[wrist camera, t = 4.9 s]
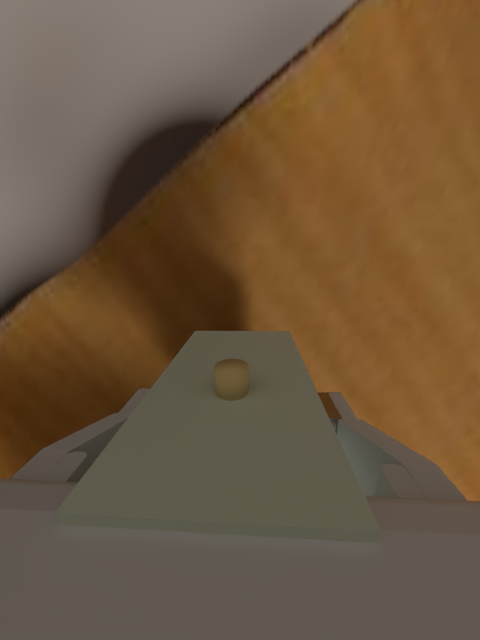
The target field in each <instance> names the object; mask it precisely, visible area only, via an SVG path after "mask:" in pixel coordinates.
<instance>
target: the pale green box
mask: <svg viewBox="0 0 480 640" xmlns="http://www.w3.org/2000/svg"><path fill="white" fill-rule="evenodd" d="M55 516H56V519H57V522H58V524H62V525H79V526H96V527H113V528H130V529H147V530H164V531H181V532H198V533H215V534H232V535H249V536H266V537H283V538H300V539H317V540H334V541H351V542H368V543H379V539H380V535H381V530H380V528H379V526H378V524H377V522H376V520H375V517H374V515H373V513H372V511H371V509H370V506H369V504H368V502H367V500H366V498H365V496H364V493H363V491H362V489H361V487H360V485H359V482H358V480H357V478H356V476H355V474H354V471H353V469H352V467H351V465H350V463H349V461H348V458H347V456H346V454H345V452H344V450H343V447H342V445H341V443H340V441H339V439H338V437H337V434H336V432H335V430H334V428H333V426H332V423H331V421H330V419H329V417H328V415H327V412H326V410H325V408H324V406H323V404H322V402H321V399H320V397H319V395H318V393H317V391H316V388H315V386H314V384H313V382H312V380H311V378H310V375H309V373H308V371H307V369H306V367H305V364H304V362H303V360H302V358H301V356H300V353H299V351H298V349H297V347H296V345H295V343H294V340H293V338H292V336H291V334H290V332H289V331H195V332H194V333H193V334H192V335H191V337H190V338H189V339H188V341H187V342H186V343H185V345H184V346H183V347H182V348H181V350H180V351H179V352H178V354H177V355H176V356H175V358H174V359H173V360H172V361H171V363H170V364H169V365H168V367H167V368H166V369H165V371H164V372H163V373H162V374H161V376H160V377H159V378H158V380H157V381H156V382H155V384H154V385H153V386H152V387H151V389H150V390H149V391H148V393H147V394H146V395H145V397H144V398H143V399H142V400H141V402H140V403H139V404H138V406H137V407H136V408H135V410H134V411H133V412H132V413H131V415H130V416H129V417H128V419H127V420H126V421H125V423H124V424H123V425H122V426H121V428H120V429H119V430H118V432H117V433H116V434H115V436H114V437H113V438H112V439H111V441H110V442H109V443H108V445H107V446H106V447H105V449H104V450H103V451H102V452H101V454H100V455H99V456H98V458H97V459H96V460H95V462H94V463H93V464H92V465H91V467H90V468H89V469H88V471H87V472H86V473H85V475H84V476H83V477H82V478H81V480H80V481H79V482H78V484H77V485H76V486H75V488H74V489H73V490H72V491H71V493H70V494H69V495H68V497H67V498H66V499H65V500H64V502H63V503H62V504H61V506H60V507H59V508H58V510H57V511H56V512H55Z"/></svg>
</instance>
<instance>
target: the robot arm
mask: <svg viewBox="0 0 480 640" xmlns="http://www.w3.org/2000/svg"><path fill="white" fill-rule="evenodd" d="M150 389H151V388H141V389H138V391H137V392H136V393H135V394H134V395H133V396H132V398H131V399H130V400H129V401H128V402H127V403H126V404H125V406H124V407H123V408H122V409H121V410H120V411H119V413H113V414H111V415H109V416H107V417H105V418H103V419H101V420H99V421H97V422H95V423H93V424H91V425H89V426H87V427H85V428H83V429H81V430H79V431H77V432H75V433H73V434H71V435H69V436H67V437H65V438H63V439H61V440H59V441H57V442H55V443H53V444H51V445H49V446H47V447H45V448H43V449H41V450H40V451H39V452H38V453H37V454H36V455H35V456H34V457H33V458H32V459H31V460H29V461H28V462H27V463H26V464H25V465H24V466H23V467H22V468H21V469H20V470H19V471H17V472H16V473H15V474H14V475H13V476H12V477H11V478H10V479H1V478H0V640H480V501H467V499H466V498H465V497H464V496H463V495H462V494H461V492H460V491H459V490H458V489H457V488H456V487H455V485H454V484H453V483H452V482H451V481H450V480H449V479H448V477H447V476H446V475H445V474H444V473H443V472H442V470H441V469H440V468H439V467H438V466H437V465H436V464H435V463H433V462H431V461H430V460H428V459H426V458H425V457H423V456H421V455H420V454H418V453H416V452H415V451H413V450H411V449H410V448H408V447H406V446H405V445H403V444H402V443H400V442H398V441H397V440H395V439H393V438H392V437H390V436H388V435H387V434H385V433H383V432H382V431H380V430H378V429H377V428H375V427H373V426H372V425H370V424H368V423H367V422H365V421H363V420H358V419H357V417H356V416H355V414H354V412H353V411H352V409H351V408H350V406H349V405H348V403H347V401H346V400H345V398H344V397H343V395H342V394H341V393H340V392H327V393H318V395H319V397H320V399H321V402H322V404H323V406H324V408H325V410H326V412H327V415H328V417H329V419H330V421H331V423H332V426H333V428H334V430H335V432H336V434H337V437H338V439H339V441H340V443H341V445H342V447H343V450H344V452H345V454H346V456H347V458H348V461H349V463H350V465H351V467H352V469H353V471H354V474H355V476H356V478H357V480H358V482H359V485H360V487H361V489H362V491H363V493H364V496H365V498H366V500H367V502H368V504H369V506H370V509H371V511H372V513H373V515H374V517H375V520H376V522H377V524H378V526H379V528H380V530H381V535H380V539H379V543H368V542H351V541H334V540H317V539H300V538H283V537H266V536H249V535H232V534H215V533H198V532H181V531H164V530H147V529H130V528H113V527H96V526H79V525H62V524H58V522H57V519H56V516H55V512H56V511H57V510H58V508H59V507H60V506H61V504H62V503H63V502H64V500H65V499H66V498H67V497H68V495H69V494H70V493H71V491H72V490H73V489H74V488H75V486H76V485H77V484H78V482H79V481H80V480H81V478H82V477H83V476H84V475H85V473H86V472H87V471H88V469H89V468H90V467H91V465H92V464H93V463H94V462H95V460H96V459H97V458H98V456H99V455H100V454H101V452H102V451H103V450H104V449H105V447H106V446H107V445H108V443H109V442H110V441H111V439H112V438H113V437H114V436H115V434H116V433H117V432H118V430H119V429H120V428H121V426H122V425H123V424H124V423H125V421H126V420H127V419H128V417H129V416H130V415H131V413H132V412H133V411H134V410H135V408H136V407H137V406H138V404H139V403H140V402H141V400H142V399H143V398H144V397H145V395H146V394H147V393H148V391H149V390H150Z"/></svg>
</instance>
